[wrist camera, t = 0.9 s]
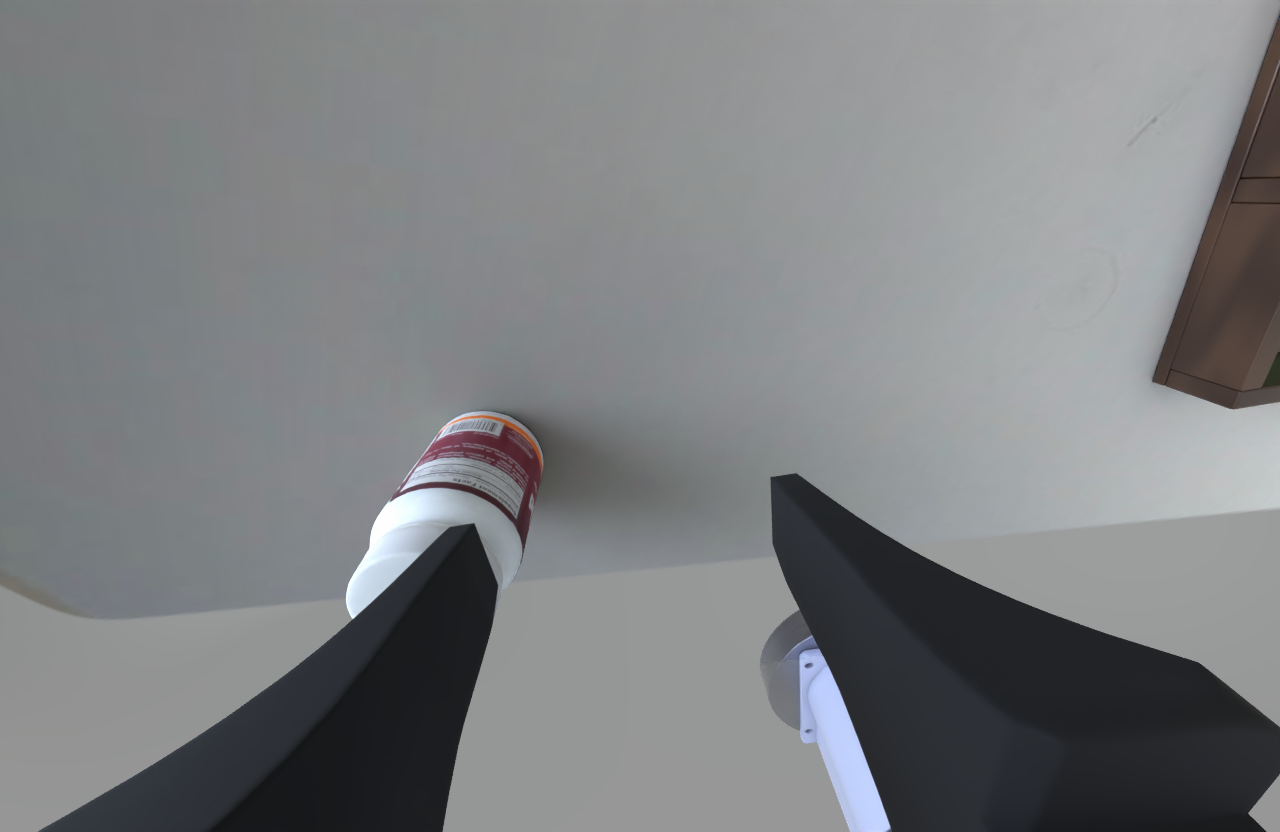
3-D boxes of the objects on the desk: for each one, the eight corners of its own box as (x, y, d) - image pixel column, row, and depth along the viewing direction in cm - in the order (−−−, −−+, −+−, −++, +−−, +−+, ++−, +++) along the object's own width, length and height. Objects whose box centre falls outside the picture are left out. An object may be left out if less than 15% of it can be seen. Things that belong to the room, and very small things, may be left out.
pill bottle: (509, 517, 22) (455, 687, 14) (415, 466, 21) (301, 625, 13) (566, 447, 21) (539, 595, 13) (470, 386, 19) (376, 514, 12)
